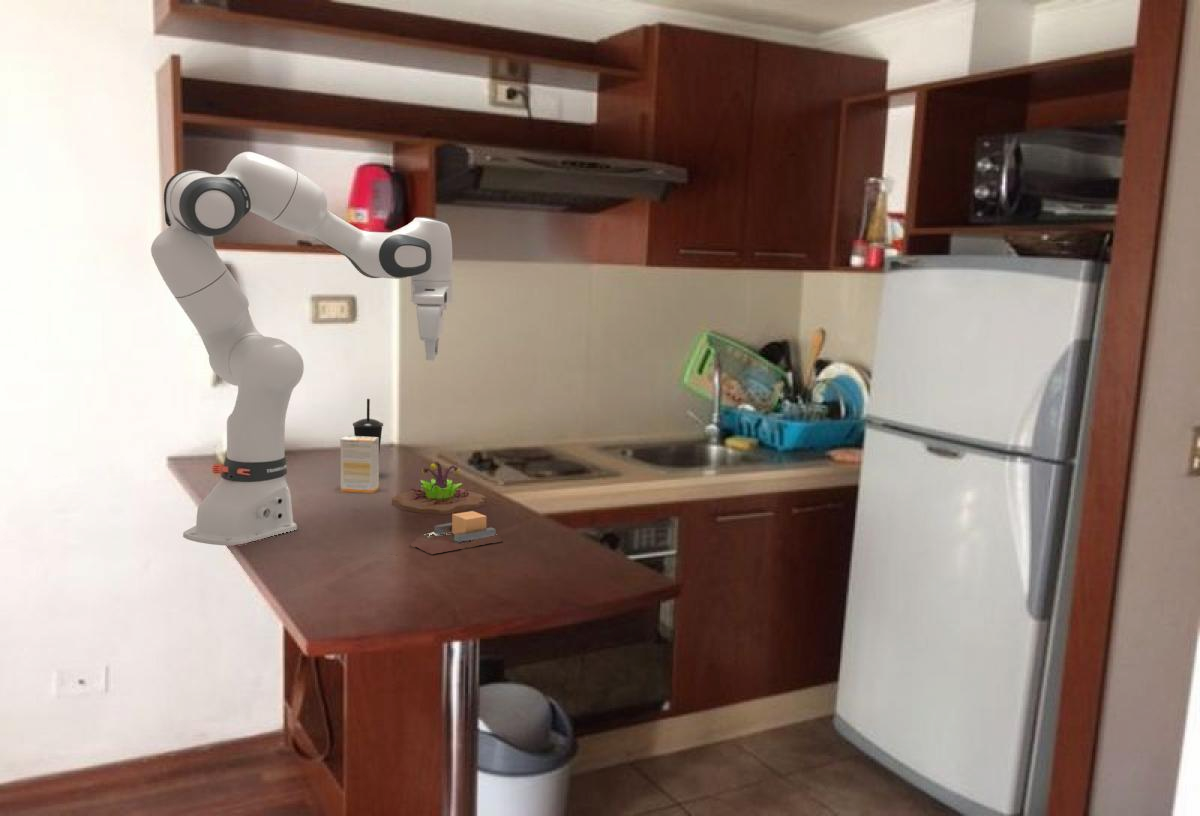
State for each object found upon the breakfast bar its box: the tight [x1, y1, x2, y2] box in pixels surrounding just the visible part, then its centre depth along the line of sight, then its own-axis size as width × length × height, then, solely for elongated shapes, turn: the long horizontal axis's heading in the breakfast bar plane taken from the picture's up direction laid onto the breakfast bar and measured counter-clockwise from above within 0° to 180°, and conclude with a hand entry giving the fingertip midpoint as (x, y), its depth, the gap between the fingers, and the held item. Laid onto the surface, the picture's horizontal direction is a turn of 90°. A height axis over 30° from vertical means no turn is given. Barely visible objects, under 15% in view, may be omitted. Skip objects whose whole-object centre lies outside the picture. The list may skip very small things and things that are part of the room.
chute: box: [423, 522, 497, 543], centre depth 203 cm, size 17×11×3 cm, turn 132°
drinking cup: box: [352, 398, 384, 453], centre depth 257 cm, size 8×8×20 cm
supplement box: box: [340, 435, 380, 494], centre depth 241 cm, size 8×5×13 cm, turn 84°
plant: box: [391, 461, 487, 516], centre depth 230 cm, size 20×20×11 cm
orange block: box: [451, 510, 487, 535], centre depth 205 cm, size 5×5×4 cm
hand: (432, 357), depth 219 cm, fingers open, 8 cm apart
